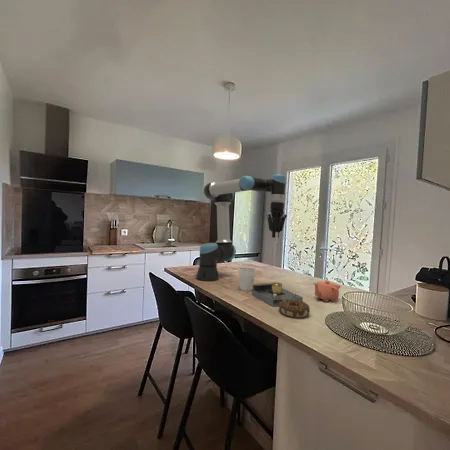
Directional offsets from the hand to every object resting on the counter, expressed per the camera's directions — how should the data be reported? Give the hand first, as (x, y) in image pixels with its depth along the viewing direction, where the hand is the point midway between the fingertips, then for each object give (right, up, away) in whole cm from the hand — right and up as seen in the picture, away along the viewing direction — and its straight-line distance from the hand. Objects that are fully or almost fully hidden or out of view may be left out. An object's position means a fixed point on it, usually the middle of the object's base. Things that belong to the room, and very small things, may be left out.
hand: (275, 243), depth 153 cm
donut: (+2, -30, -31) cm, 43 cm away
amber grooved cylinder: (-2, -29, -12) cm, 31 cm away
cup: (-16, -27, +4) cm, 32 cm away
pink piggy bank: (+26, -30, -9) cm, 40 cm away
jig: (-2, -28, -12) cm, 31 cm away
